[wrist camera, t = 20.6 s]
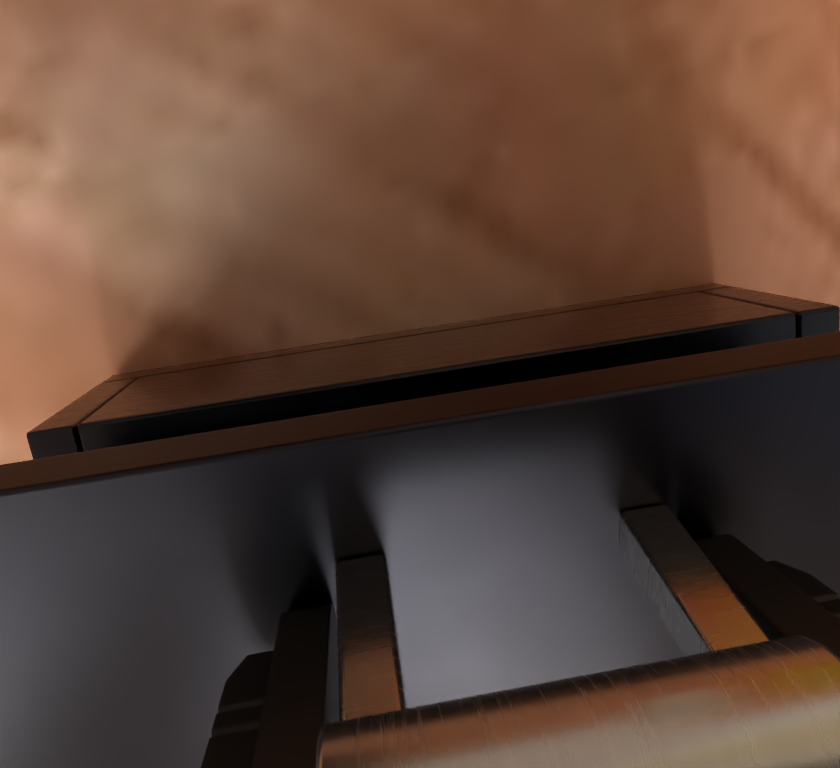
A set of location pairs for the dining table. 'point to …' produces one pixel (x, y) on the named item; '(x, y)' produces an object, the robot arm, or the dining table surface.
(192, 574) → the lid
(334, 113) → the dining table surface
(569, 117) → the dining table surface
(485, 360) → the black open box
